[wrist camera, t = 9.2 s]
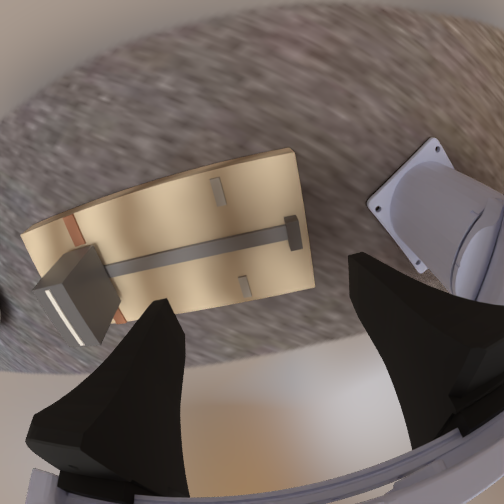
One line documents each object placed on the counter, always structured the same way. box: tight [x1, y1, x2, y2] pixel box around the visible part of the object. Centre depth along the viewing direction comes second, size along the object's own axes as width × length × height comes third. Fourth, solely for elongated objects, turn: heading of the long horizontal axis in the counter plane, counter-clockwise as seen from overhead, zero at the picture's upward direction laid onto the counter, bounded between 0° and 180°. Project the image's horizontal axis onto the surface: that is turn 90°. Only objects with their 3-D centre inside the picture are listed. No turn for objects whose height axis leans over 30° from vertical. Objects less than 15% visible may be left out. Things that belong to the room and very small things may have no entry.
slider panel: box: [21, 148, 315, 324], centre depth 20 cm, size 22×10×3 cm, turn 102°
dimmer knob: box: [32, 245, 121, 347], centre depth 18 cm, size 3×5×5 cm, turn 13°
